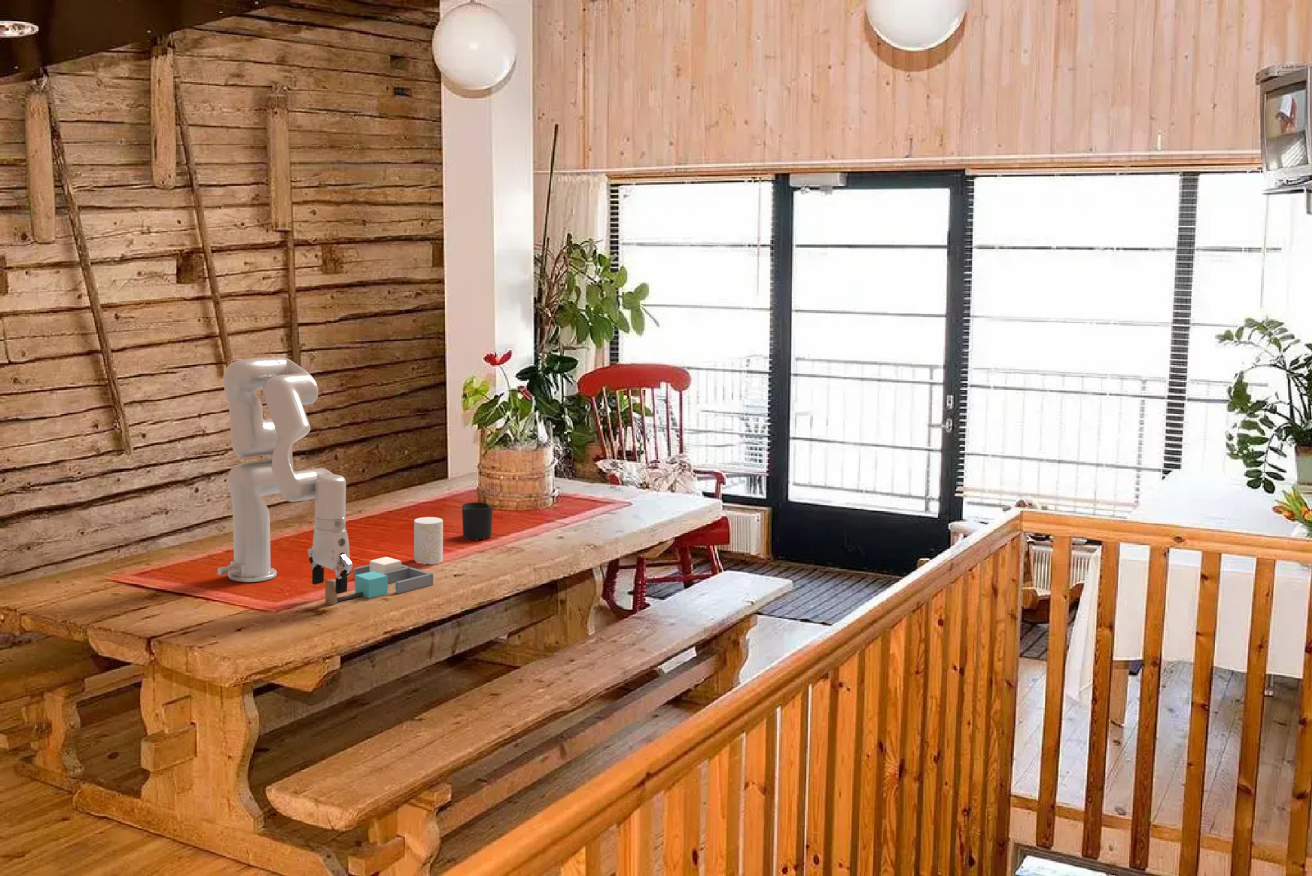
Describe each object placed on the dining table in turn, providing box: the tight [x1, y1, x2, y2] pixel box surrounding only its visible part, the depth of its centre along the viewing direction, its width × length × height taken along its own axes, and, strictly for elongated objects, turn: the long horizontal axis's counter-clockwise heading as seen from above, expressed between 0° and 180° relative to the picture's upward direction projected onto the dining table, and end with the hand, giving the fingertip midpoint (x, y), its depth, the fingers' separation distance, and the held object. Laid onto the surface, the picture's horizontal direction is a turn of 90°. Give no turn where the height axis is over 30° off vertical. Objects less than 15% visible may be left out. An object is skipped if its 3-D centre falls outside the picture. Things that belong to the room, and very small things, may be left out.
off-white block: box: [369, 556, 402, 573], centre depth 357 cm, size 6×6×5 cm
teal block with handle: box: [324, 571, 389, 606], centre depth 338 cm, size 17×6×6 cm, turn 139°
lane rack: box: [352, 563, 434, 594], centre depth 354 cm, size 12×19×3 cm, turn 50°
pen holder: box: [461, 501, 494, 540], centre depth 404 cm, size 9×9×10 cm
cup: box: [413, 516, 444, 565], centre depth 375 cm, size 8×8×12 cm
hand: (329, 587), depth 333 cm, fingers open, 9 cm apart
